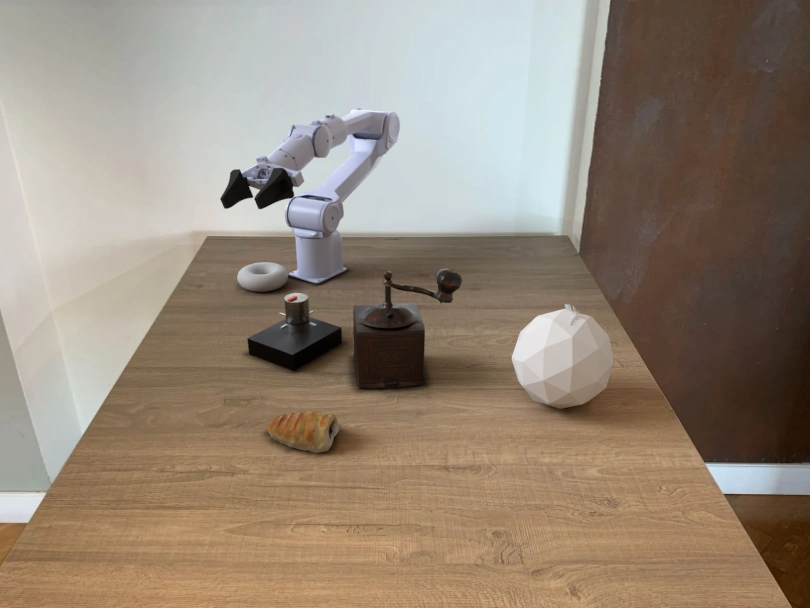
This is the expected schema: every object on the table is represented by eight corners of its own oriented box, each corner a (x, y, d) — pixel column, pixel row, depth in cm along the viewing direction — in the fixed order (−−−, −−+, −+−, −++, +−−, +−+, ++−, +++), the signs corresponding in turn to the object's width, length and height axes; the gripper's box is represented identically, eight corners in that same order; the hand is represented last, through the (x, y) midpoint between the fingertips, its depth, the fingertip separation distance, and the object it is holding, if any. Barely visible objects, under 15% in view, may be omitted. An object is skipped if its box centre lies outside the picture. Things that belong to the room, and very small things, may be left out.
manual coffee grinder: (356, 392, 111) (353, 279, 102) (352, 357, 120) (349, 251, 112) (459, 386, 112) (465, 274, 103) (447, 352, 122) (451, 247, 113)
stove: (297, 321, 133) (295, 305, 131) (350, 338, 126) (349, 321, 125) (239, 350, 123) (237, 333, 121) (294, 371, 116) (293, 353, 115)
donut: (282, 296, 143) (293, 275, 152) (281, 279, 141) (292, 259, 150) (232, 294, 144) (245, 274, 153) (230, 277, 142) (243, 258, 151)
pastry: (260, 447, 98) (258, 423, 96) (277, 420, 104) (275, 397, 102) (329, 456, 97) (327, 431, 95) (342, 428, 102) (341, 404, 100)
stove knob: (296, 312, 129) (295, 289, 126) (314, 318, 126) (313, 294, 124) (280, 320, 126) (279, 297, 124) (298, 326, 124) (297, 302, 122)
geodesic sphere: (504, 329, 115) (515, 282, 102) (597, 330, 115) (621, 283, 101) (507, 420, 109) (519, 383, 96) (605, 422, 109) (632, 385, 95)
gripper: (244, 145, 135) (199, 182, 127) (308, 142, 128) (265, 182, 120) (258, 180, 140) (216, 218, 131) (321, 179, 132) (280, 220, 124)
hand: (240, 203), depth 126 cm, fingers open, 7 cm apart
